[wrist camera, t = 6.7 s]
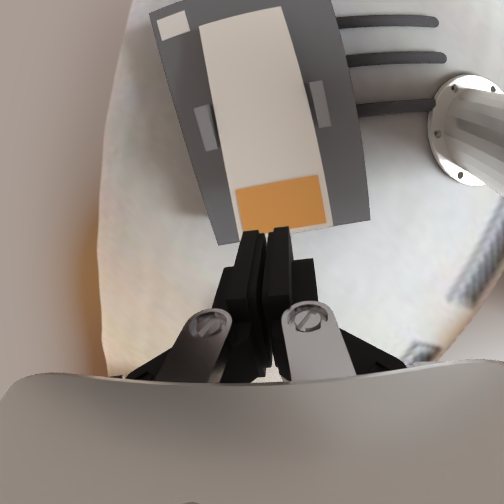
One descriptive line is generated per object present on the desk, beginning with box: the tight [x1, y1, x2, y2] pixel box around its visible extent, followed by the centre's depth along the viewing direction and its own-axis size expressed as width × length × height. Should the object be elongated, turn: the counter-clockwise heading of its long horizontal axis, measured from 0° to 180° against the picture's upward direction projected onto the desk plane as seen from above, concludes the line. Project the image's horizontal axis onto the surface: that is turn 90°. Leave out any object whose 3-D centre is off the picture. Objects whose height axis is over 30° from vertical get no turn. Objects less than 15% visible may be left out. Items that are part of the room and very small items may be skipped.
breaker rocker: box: [199, 6, 333, 241], centre depth 19 cm, size 6×16×1 cm, turn 14°
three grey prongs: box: [336, 15, 447, 117], centre depth 23 cm, size 12×10×1 cm
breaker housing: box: [149, 0, 370, 246], centre depth 23 cm, size 14×22×11 cm, turn 14°
